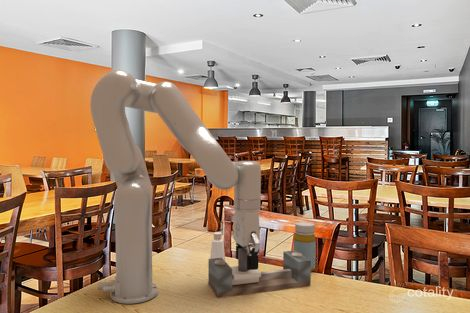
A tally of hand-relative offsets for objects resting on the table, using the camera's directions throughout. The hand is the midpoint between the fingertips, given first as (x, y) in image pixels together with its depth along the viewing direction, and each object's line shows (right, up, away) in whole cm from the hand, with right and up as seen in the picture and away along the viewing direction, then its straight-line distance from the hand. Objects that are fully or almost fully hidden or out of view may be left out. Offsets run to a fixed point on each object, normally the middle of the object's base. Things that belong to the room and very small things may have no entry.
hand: (246, 263), depth 109 cm
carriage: (-1, -5, 0) cm, 5 cm away
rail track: (+4, -7, +2) cm, 8 cm away
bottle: (+19, -6, +15) cm, 25 cm away
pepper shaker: (-9, -6, +18) cm, 21 cm away
